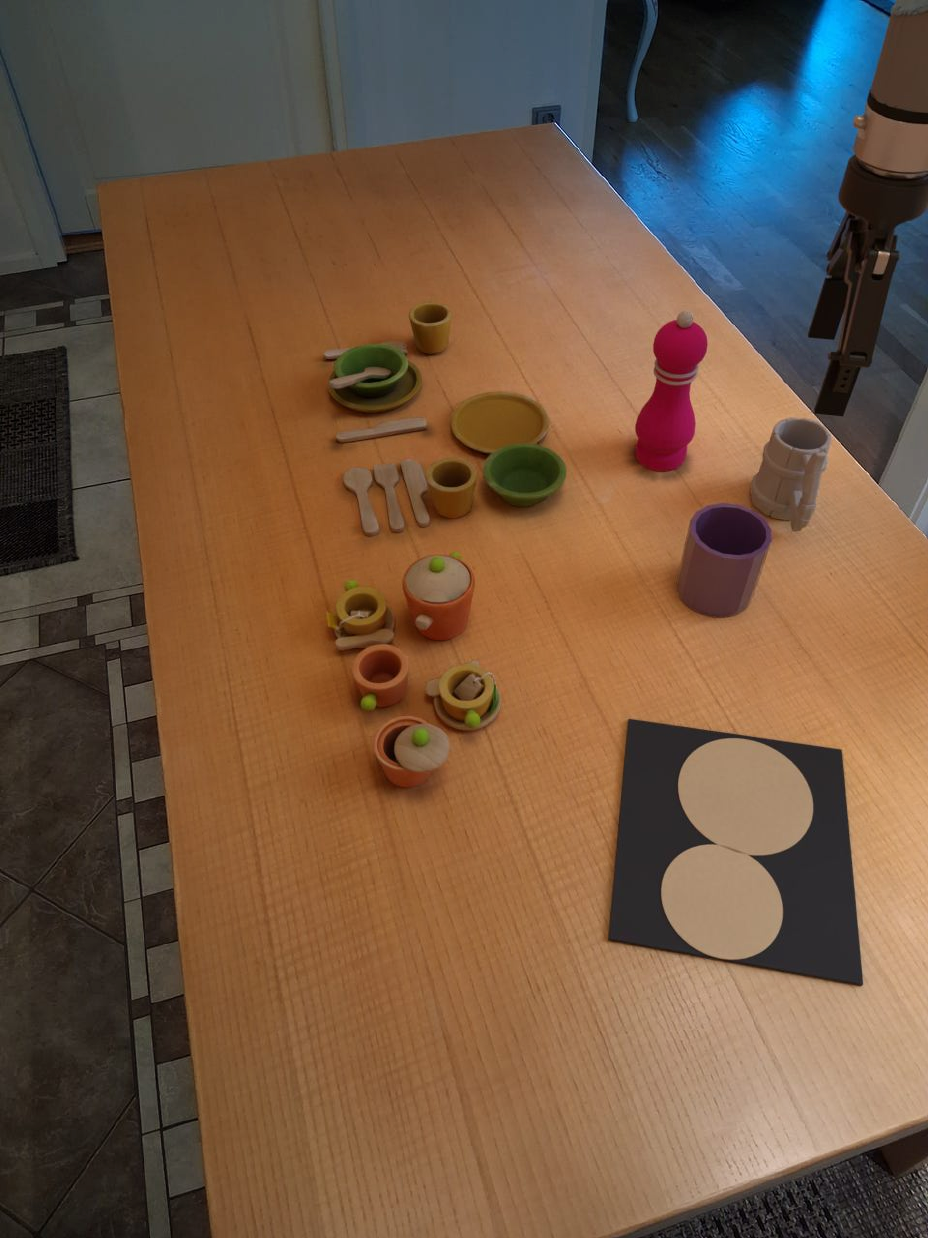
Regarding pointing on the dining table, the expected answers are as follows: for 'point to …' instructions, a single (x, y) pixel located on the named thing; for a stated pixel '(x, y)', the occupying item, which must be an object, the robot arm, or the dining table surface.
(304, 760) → the dining table surface
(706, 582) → the purple cup
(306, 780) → the dining table surface
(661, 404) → the pepper mill
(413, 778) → the toy tea set
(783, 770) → the placemat
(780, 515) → the mug
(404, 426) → the tableware set
